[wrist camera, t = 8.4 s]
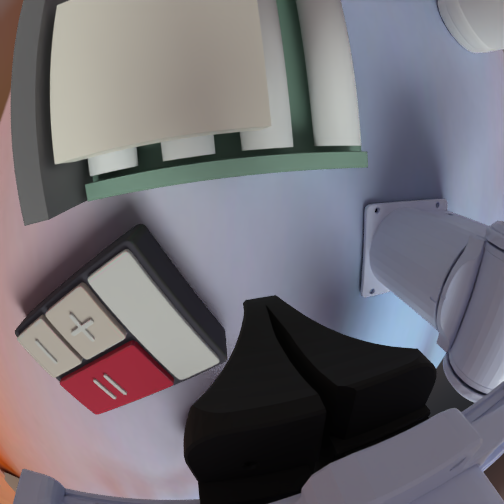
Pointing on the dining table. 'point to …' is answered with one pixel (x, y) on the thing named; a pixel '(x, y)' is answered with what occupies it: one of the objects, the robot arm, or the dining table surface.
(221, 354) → the calculator
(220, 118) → the board
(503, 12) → the bottle
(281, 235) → the dining table surface
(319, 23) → the roller frame
